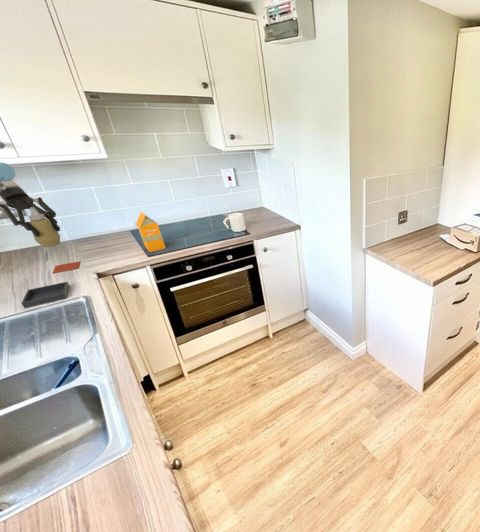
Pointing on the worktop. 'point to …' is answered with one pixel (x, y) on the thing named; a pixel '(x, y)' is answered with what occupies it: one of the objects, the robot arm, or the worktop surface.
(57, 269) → the mat
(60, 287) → the tray
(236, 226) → the mug
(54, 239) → the squeeze bottle
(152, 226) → the orange juice
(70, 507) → the worktop surface
